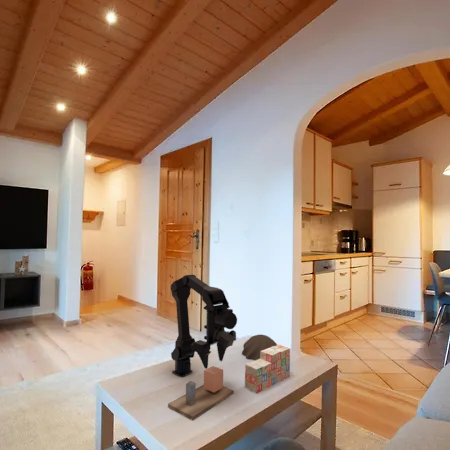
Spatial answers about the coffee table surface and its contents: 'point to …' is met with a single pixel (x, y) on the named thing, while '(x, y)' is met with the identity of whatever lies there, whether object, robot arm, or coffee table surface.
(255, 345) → the decorative dome
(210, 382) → the salmon orange block
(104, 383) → the coffee table surface
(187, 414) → the board
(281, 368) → the stack of blocks
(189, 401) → the steel post
